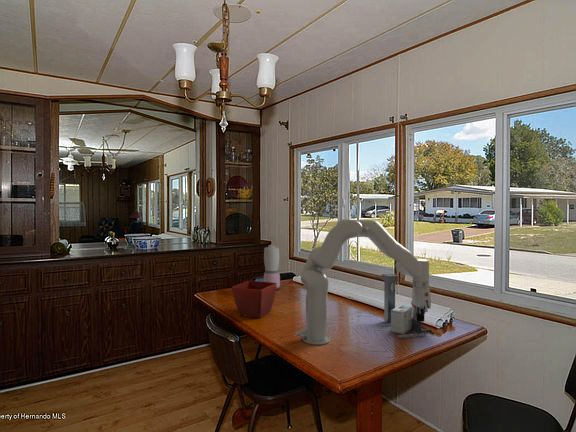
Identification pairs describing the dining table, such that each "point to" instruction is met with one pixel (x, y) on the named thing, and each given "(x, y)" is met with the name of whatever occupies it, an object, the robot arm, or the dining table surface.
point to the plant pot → (254, 297)
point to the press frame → (390, 304)
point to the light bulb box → (401, 319)
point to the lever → (414, 312)
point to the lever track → (427, 330)
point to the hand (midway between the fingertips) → (420, 321)
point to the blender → (271, 265)
